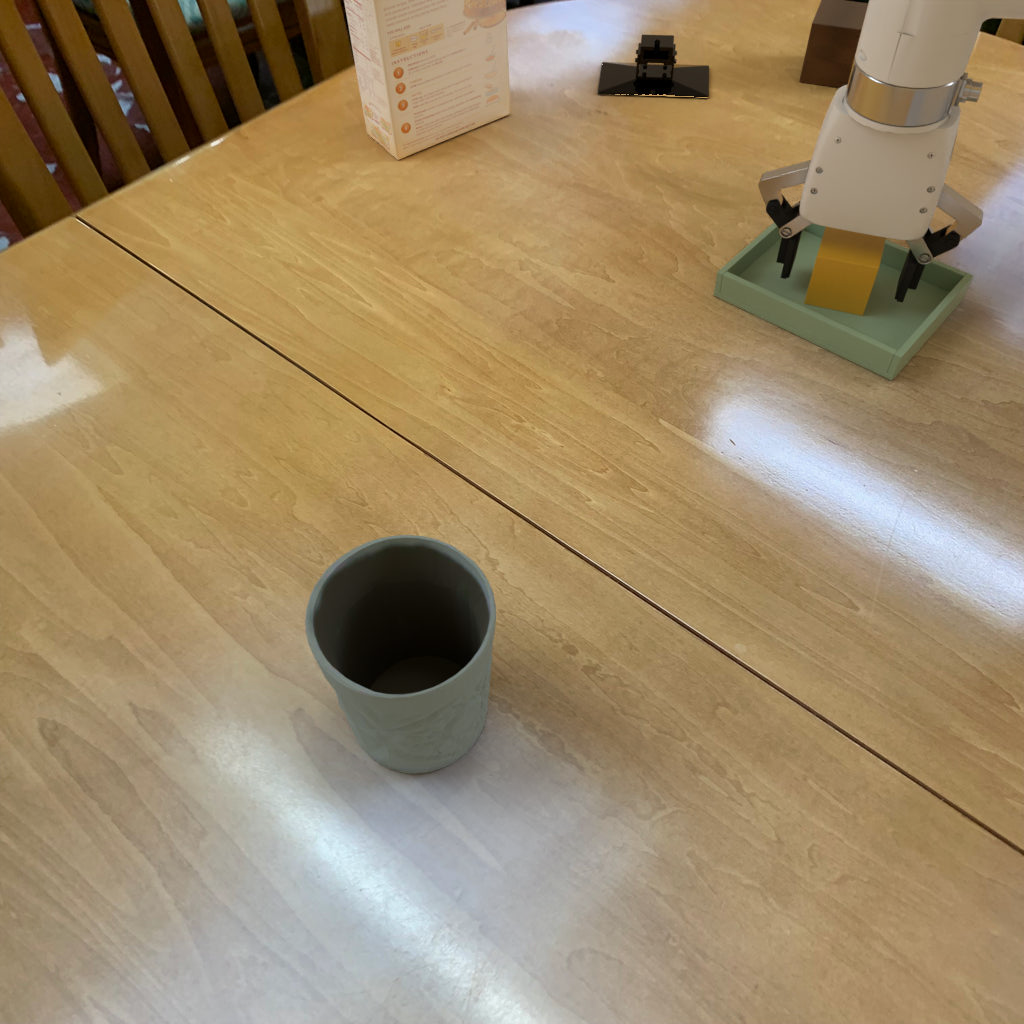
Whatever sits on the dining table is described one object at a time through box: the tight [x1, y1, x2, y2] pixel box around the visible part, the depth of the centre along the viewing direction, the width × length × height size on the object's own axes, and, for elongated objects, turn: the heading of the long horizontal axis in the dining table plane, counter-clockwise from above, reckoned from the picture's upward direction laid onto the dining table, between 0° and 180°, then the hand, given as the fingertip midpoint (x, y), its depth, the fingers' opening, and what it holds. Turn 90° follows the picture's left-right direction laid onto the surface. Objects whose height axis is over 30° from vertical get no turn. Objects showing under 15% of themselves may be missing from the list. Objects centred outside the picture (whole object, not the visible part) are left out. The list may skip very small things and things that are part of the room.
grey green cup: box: [304, 534, 497, 774], centre depth 54 cm, size 10×10×12 cm
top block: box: [804, 227, 887, 316], centre depth 79 cm, size 5×5×5 cm
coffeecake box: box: [343, 0, 512, 161], centre depth 94 cm, size 15×7×20 cm, turn 126°
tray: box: [713, 202, 975, 381], centre depth 81 cm, size 17×13×3 cm
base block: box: [799, 0, 869, 89], centre depth 103 cm, size 6×6×6 cm
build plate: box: [597, 34, 710, 97], centre depth 104 cm, size 12×7×5 cm, turn 82°
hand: (843, 280), depth 80 cm, fingers open, 9 cm apart
